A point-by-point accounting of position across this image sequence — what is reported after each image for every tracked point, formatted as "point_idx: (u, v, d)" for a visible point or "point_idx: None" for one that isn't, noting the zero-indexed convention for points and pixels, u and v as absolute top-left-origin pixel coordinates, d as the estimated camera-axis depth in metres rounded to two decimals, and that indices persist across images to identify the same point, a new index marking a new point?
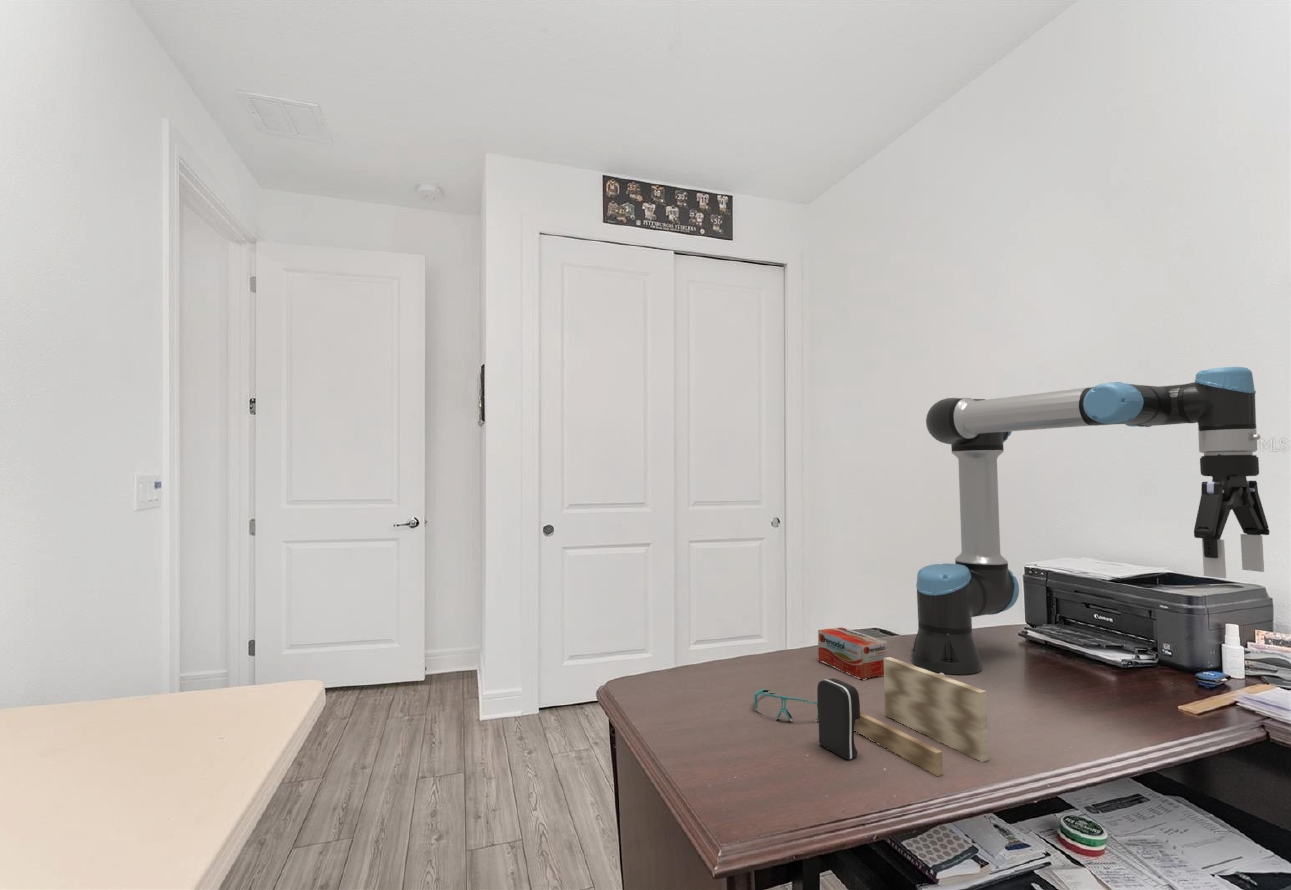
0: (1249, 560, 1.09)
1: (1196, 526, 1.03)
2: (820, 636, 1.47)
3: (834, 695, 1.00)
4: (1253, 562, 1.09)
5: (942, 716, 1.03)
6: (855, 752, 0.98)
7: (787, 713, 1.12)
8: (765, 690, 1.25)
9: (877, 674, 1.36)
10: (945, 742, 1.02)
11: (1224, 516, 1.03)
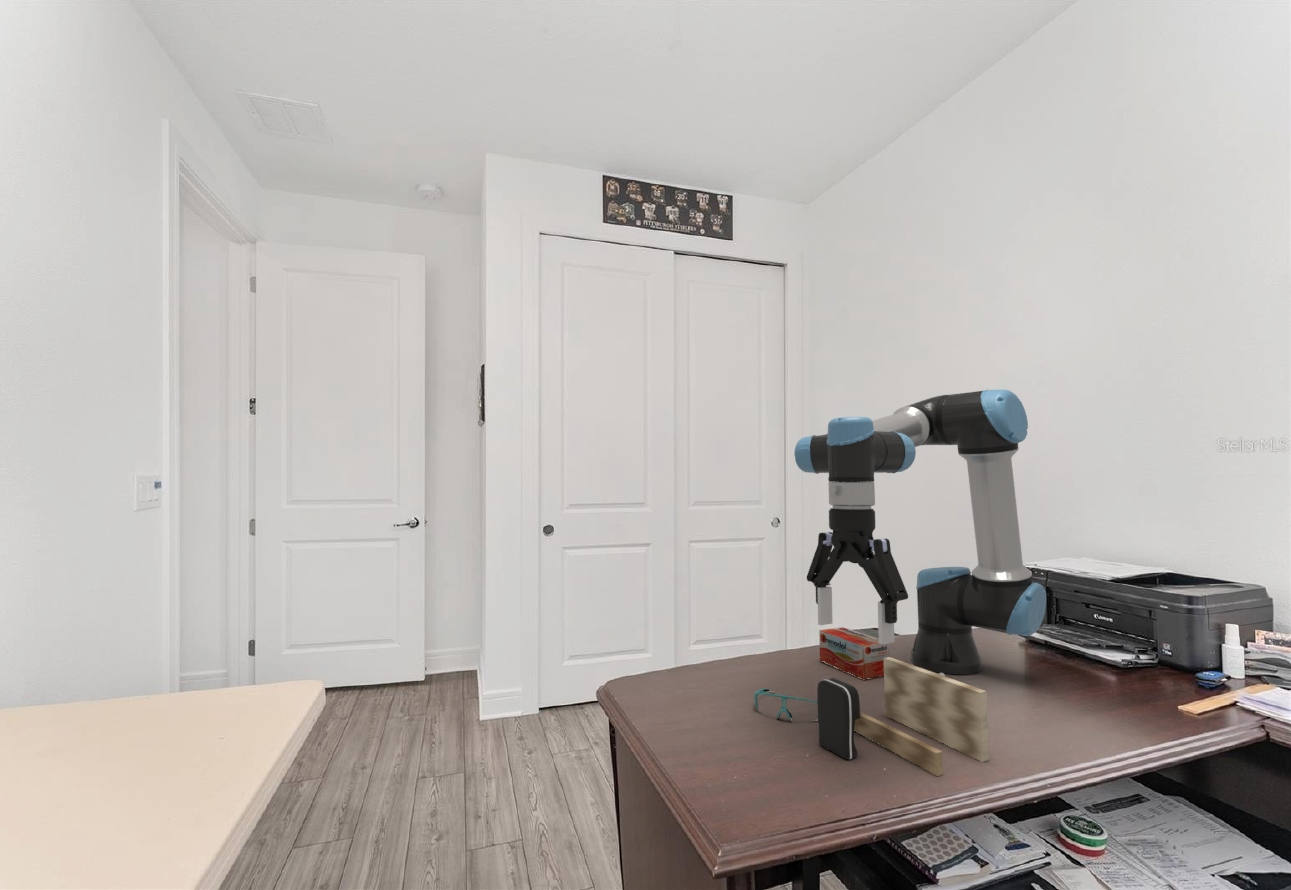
0: None
1: None
2: (821, 636, 1.46)
3: (834, 695, 1.00)
4: None
5: (942, 716, 1.03)
6: (855, 752, 0.98)
7: (787, 712, 1.13)
8: (765, 689, 1.26)
9: (879, 674, 1.36)
10: (945, 742, 1.02)
11: (824, 566, 1.06)
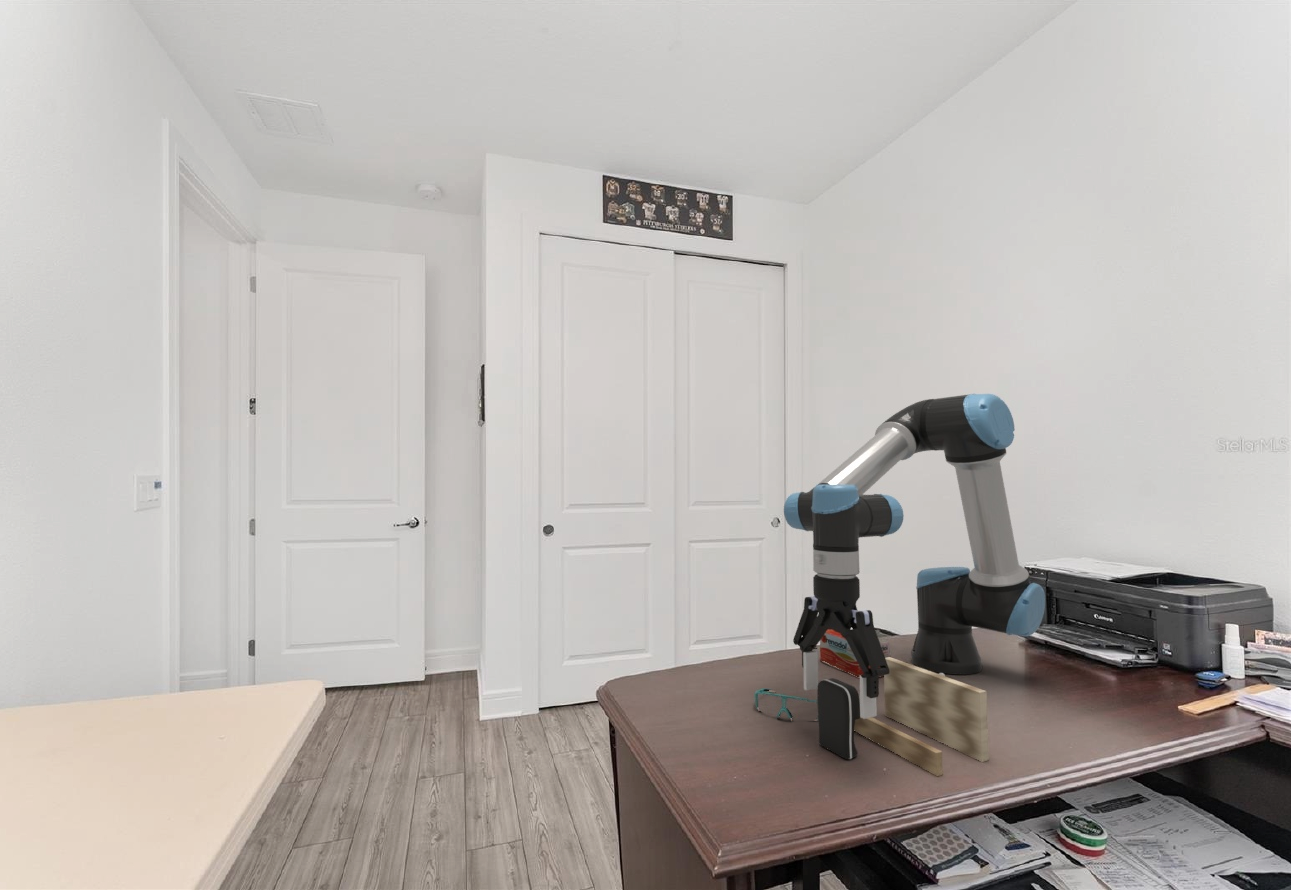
0: None
1: (804, 634, 1.11)
2: None
3: (834, 695, 1.00)
4: None
5: (942, 716, 1.03)
6: (855, 752, 0.98)
7: (787, 712, 1.13)
8: (766, 689, 1.26)
9: None
10: (945, 742, 1.02)
11: (809, 632, 1.06)
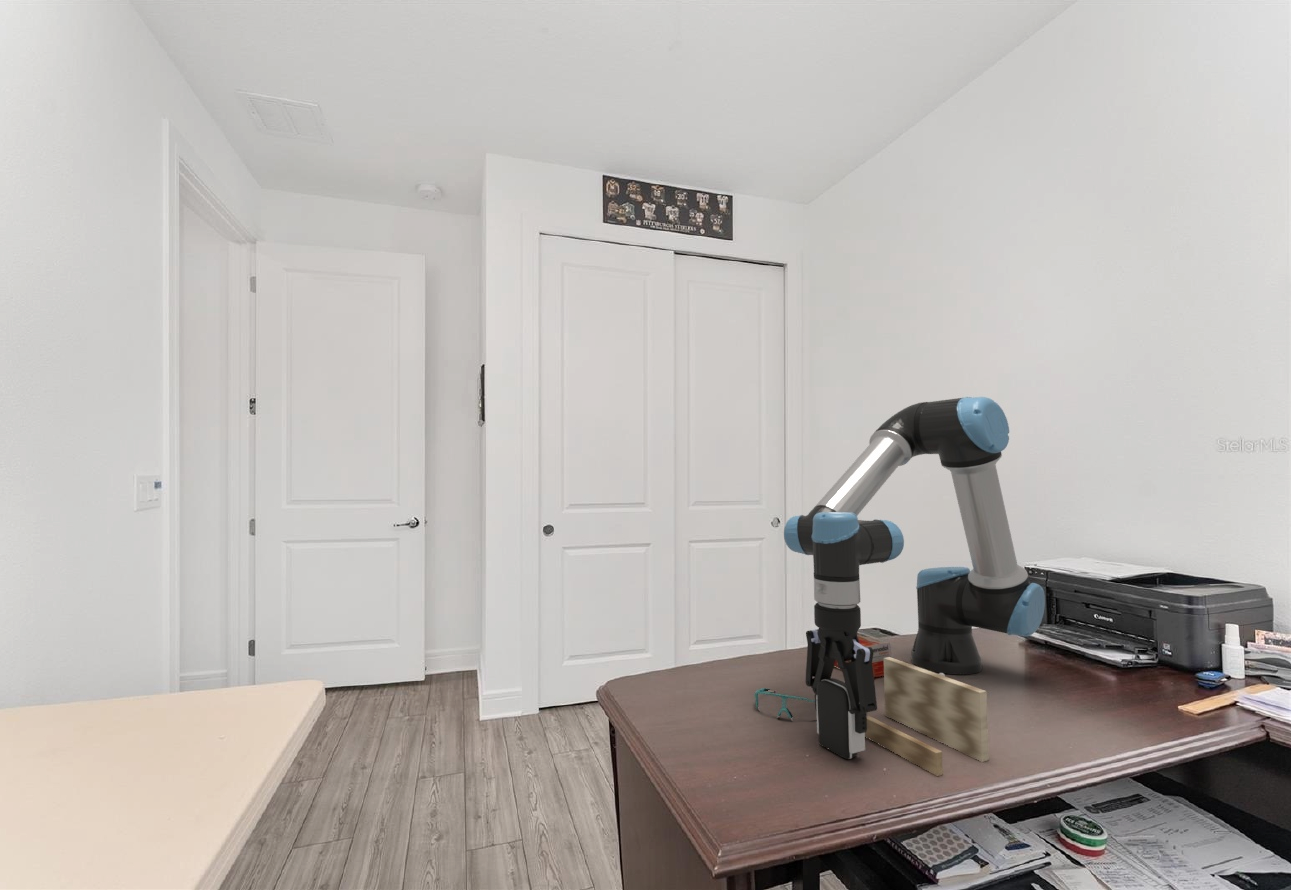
0: None
1: (815, 675, 1.08)
2: None
3: (834, 695, 1.00)
4: None
5: (942, 716, 1.03)
6: None
7: (788, 712, 1.13)
8: (766, 689, 1.26)
9: (880, 674, 1.36)
10: (945, 742, 1.02)
11: (818, 669, 1.04)
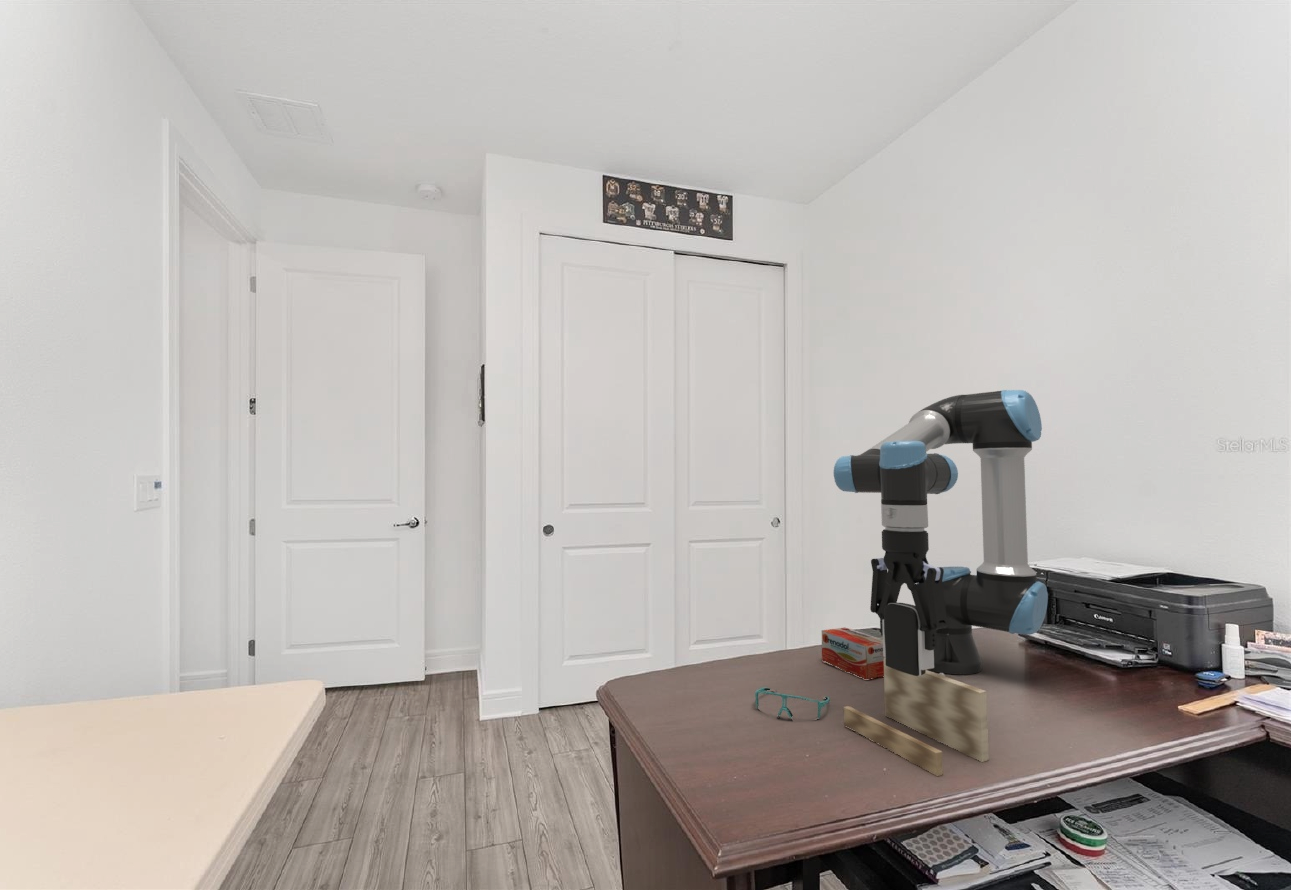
0: None
1: None
2: (824, 636, 1.46)
3: (903, 616, 1.03)
4: None
5: (942, 716, 1.03)
6: (924, 670, 1.01)
7: (788, 711, 1.13)
8: (766, 688, 1.26)
9: (881, 674, 1.36)
10: (945, 742, 1.02)
11: (884, 594, 1.07)
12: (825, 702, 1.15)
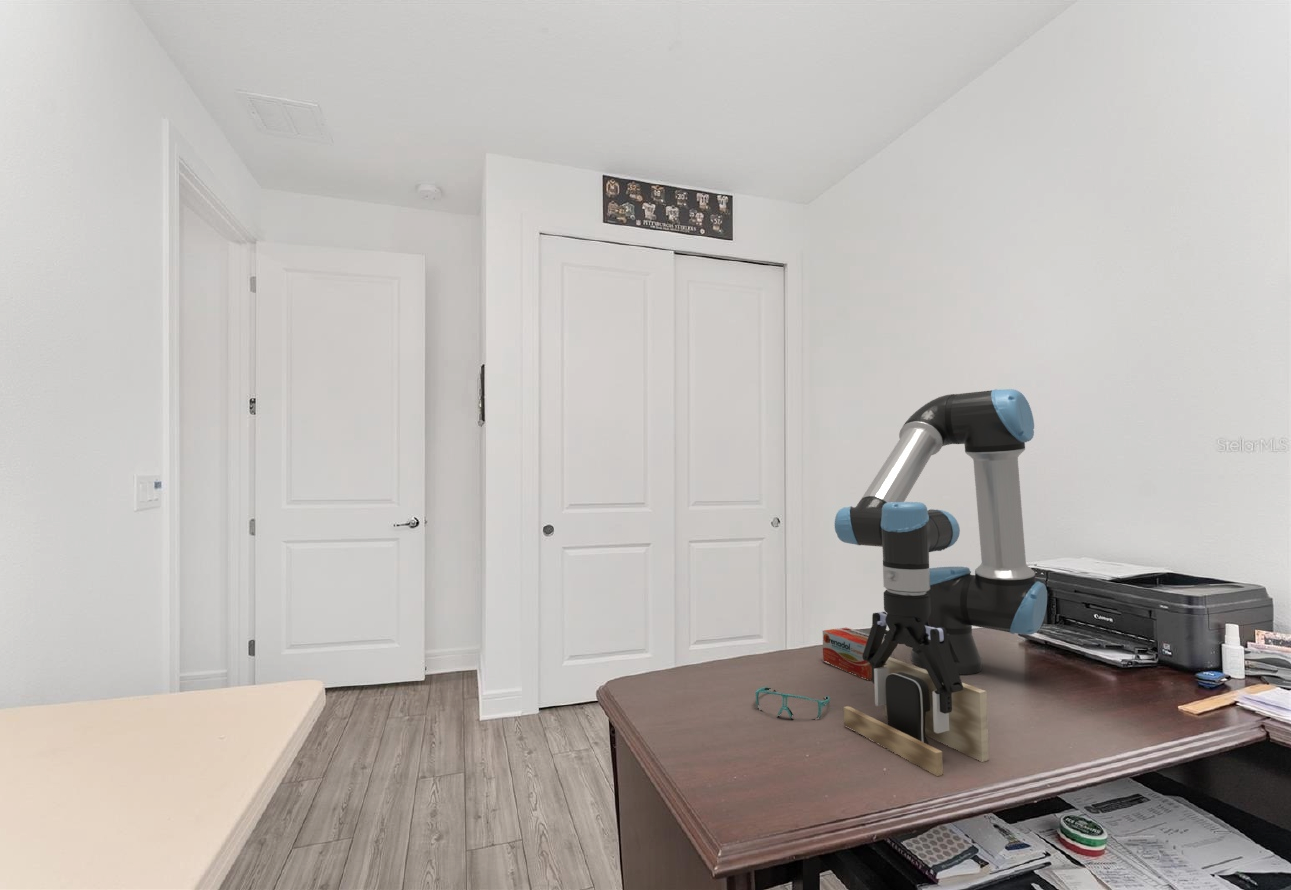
0: None
1: (872, 650, 1.13)
2: (825, 636, 1.46)
3: (904, 688, 1.02)
4: None
5: None
6: (926, 743, 1.01)
7: (788, 710, 1.14)
8: (766, 688, 1.26)
9: None
10: (945, 742, 1.02)
11: (880, 648, 1.08)
12: (825, 701, 1.15)
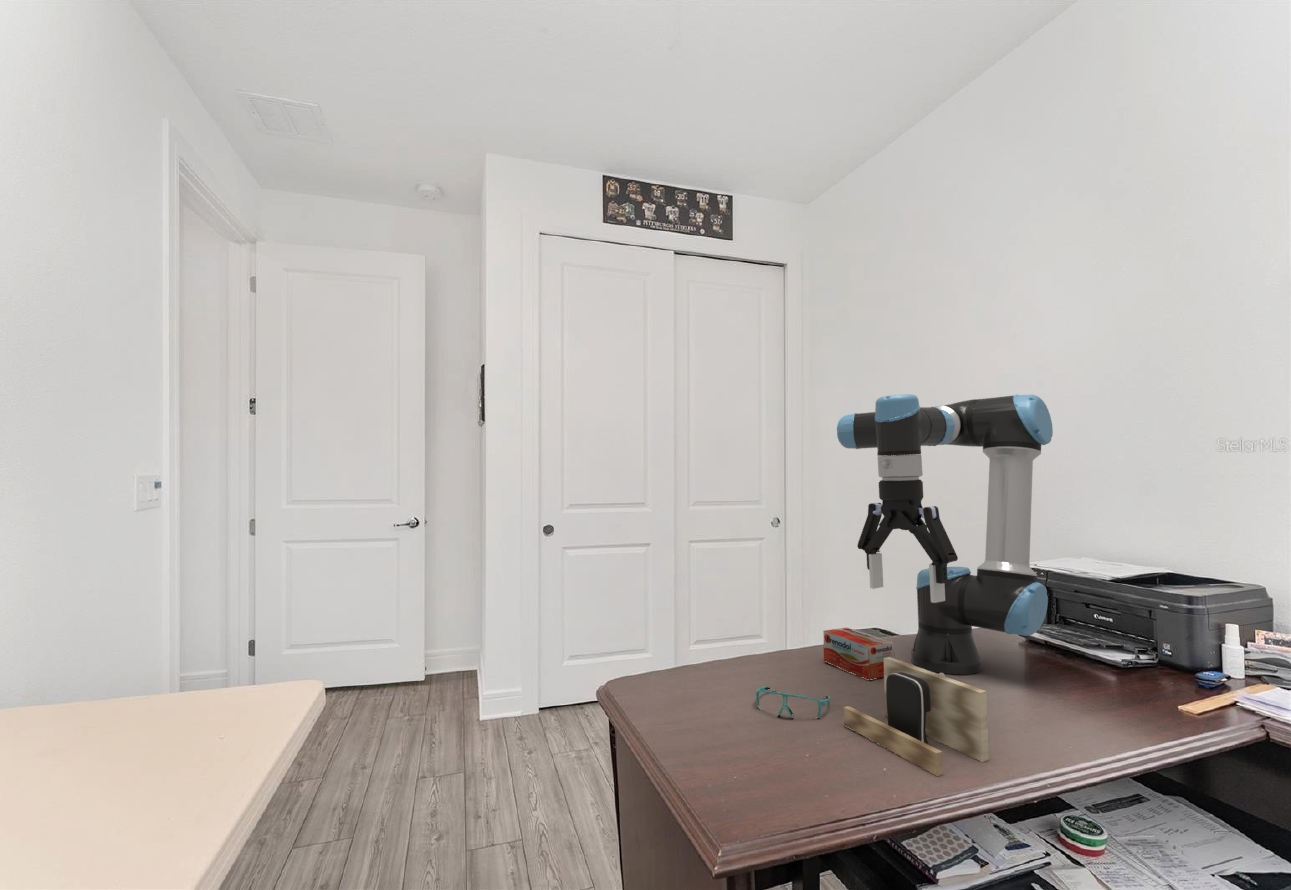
0: None
1: (866, 540, 1.19)
2: (825, 637, 1.46)
3: (905, 688, 1.02)
4: None
5: (942, 716, 1.03)
6: (926, 743, 1.01)
7: (788, 710, 1.14)
8: (767, 687, 1.27)
9: None
10: (945, 742, 1.02)
11: (875, 534, 1.15)
12: (825, 701, 1.16)
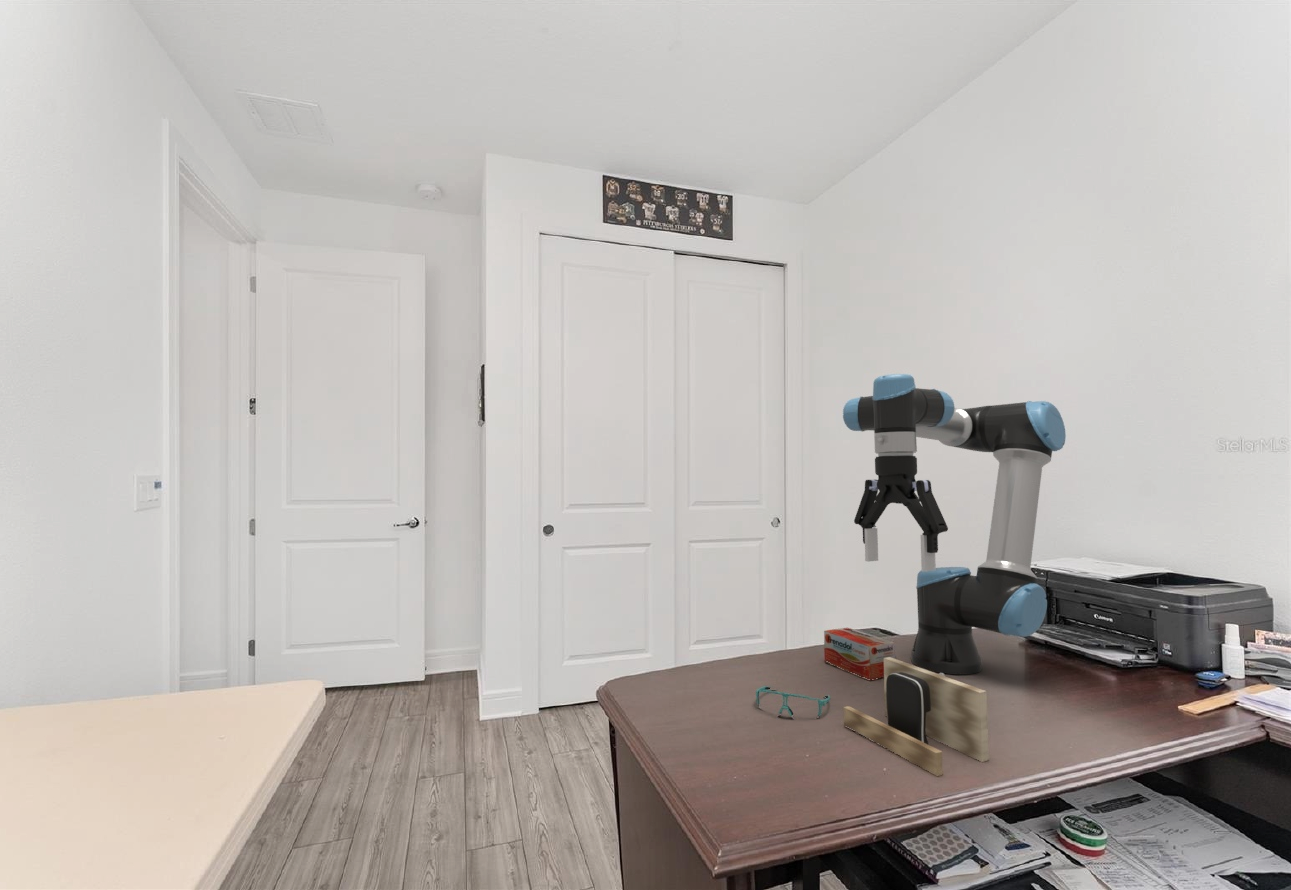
0: None
1: (863, 516, 1.25)
2: (826, 637, 1.46)
3: (905, 688, 1.02)
4: None
5: (942, 716, 1.03)
6: (926, 743, 1.01)
7: (789, 709, 1.14)
8: (767, 687, 1.27)
9: None
10: (945, 742, 1.02)
11: (870, 509, 1.20)
12: (826, 701, 1.16)
